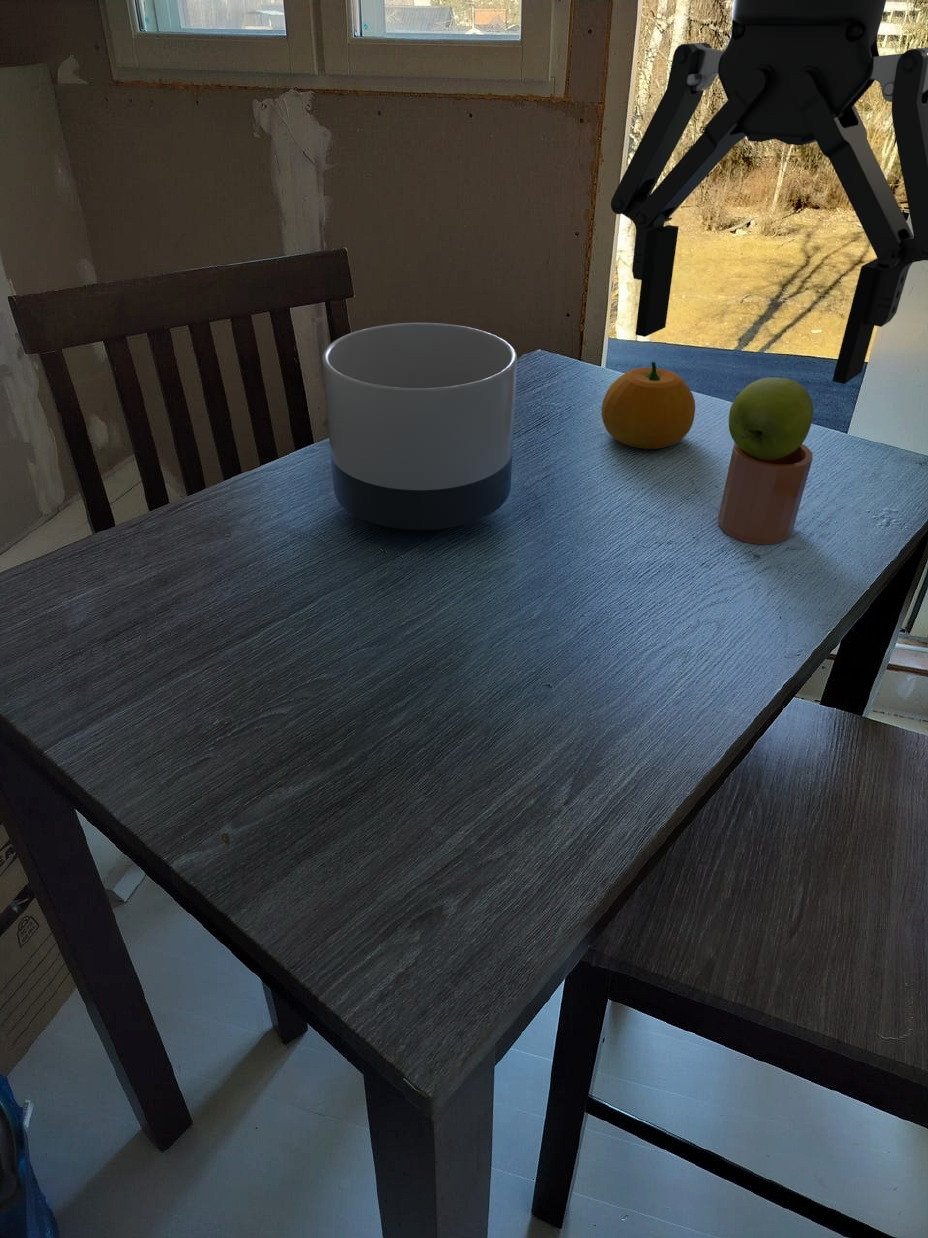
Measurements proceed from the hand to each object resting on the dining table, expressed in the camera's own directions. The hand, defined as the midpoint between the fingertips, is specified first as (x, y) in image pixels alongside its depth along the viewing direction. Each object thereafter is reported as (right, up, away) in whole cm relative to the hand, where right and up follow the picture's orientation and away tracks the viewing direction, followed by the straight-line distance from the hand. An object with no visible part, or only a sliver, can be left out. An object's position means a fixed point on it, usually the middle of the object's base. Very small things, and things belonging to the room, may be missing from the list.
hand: (742, 352), depth 55 cm
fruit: (+5, +6, +56) cm, 56 cm away
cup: (+14, -7, +38) cm, 41 cm away
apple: (+14, 0, +33) cm, 36 cm away
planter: (-23, -5, +40) cm, 46 cm away
